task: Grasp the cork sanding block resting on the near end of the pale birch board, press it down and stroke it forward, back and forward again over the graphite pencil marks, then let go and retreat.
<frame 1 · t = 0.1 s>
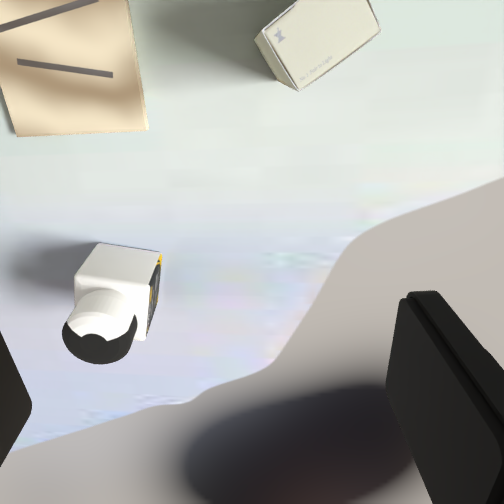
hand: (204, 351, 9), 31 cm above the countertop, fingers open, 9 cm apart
skincare box: (295, 37, 34), on the countertop
medicine bottle: (129, 272, 44), on the countertop
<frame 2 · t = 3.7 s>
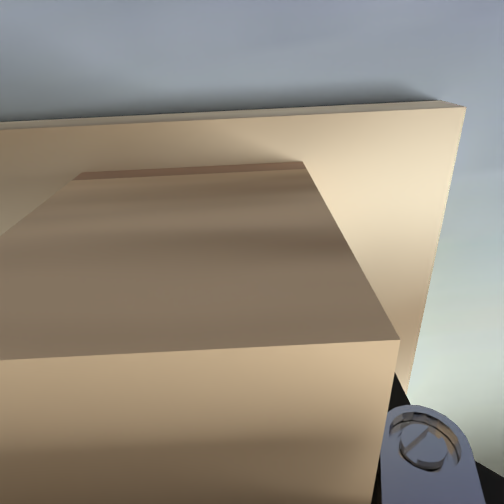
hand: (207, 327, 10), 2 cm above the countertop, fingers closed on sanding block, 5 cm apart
sanding block: (209, 310, 11), point 1 cm above the countertop, touching board, gripper
board: (228, 436, 15), on the countertop
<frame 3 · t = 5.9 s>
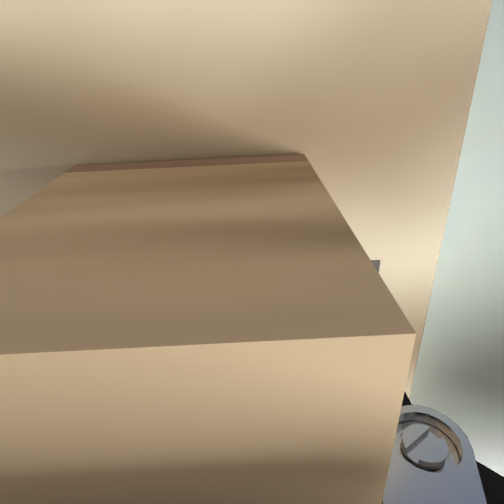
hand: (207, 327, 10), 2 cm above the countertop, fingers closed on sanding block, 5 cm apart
sanding block: (207, 308, 10), point 1 cm above the countertop, touching gripper
board: (215, 311, 12), on the countertop
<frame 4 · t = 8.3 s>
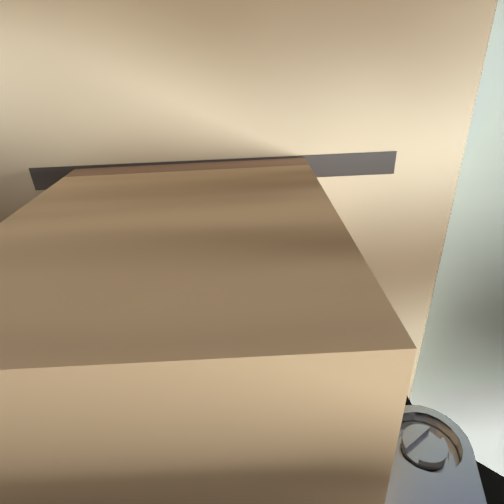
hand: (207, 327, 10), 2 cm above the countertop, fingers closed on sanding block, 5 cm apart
sanding block: (207, 311, 10), point 1 cm above the countertop, touching gripper
board: (204, 231, 10), on the countertop
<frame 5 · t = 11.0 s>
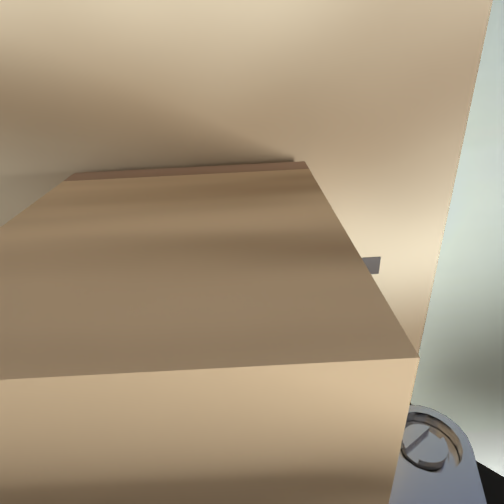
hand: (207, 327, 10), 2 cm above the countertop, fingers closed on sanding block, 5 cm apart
sanding block: (207, 315, 10), point 1 cm above the countertop, touching gripper
board: (214, 309, 12), on the countertop
when the fingers open (2 cm above the countertop, at t = 13.3 s): sanding block stays where it is, resting on board.
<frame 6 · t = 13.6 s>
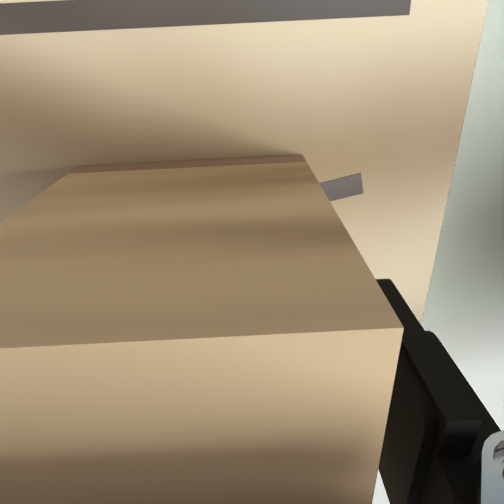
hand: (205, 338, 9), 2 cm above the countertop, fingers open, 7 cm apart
sanding block: (208, 306, 10), point 1 cm above the countertop, touching board
board: (192, 113, 9), on the countertop
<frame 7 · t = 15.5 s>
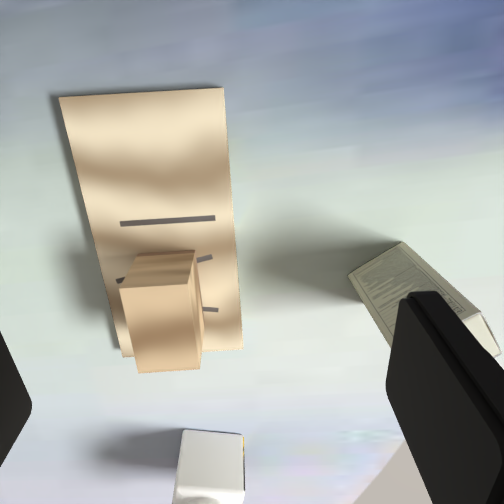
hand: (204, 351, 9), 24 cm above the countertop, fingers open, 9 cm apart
skincare box: (384, 271, 37), on the countertop
medicine bottle: (210, 449, 46), on the countertop
sanding block: (173, 291, 35), point 1 cm above the countertop, touching board
board: (167, 237, 34), on the countertop
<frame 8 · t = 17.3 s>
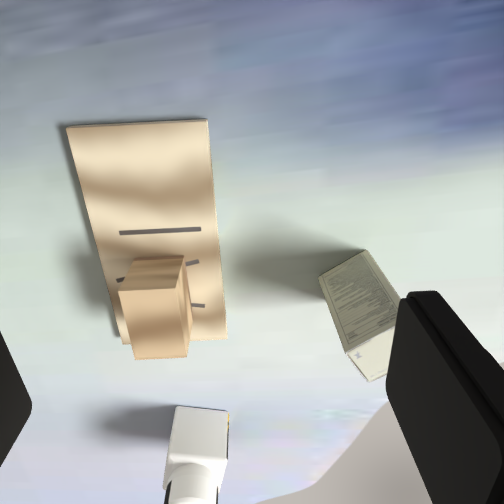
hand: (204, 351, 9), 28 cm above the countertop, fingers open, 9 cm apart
skincare box: (350, 274, 42), on the countertop
medicine bottle: (199, 423, 53), on the countertop
sanding block: (165, 289, 40), point 1 cm above the countertop, touching board
board: (160, 243, 39), on the countertop
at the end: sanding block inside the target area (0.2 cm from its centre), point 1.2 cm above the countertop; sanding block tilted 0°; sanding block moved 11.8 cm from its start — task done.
